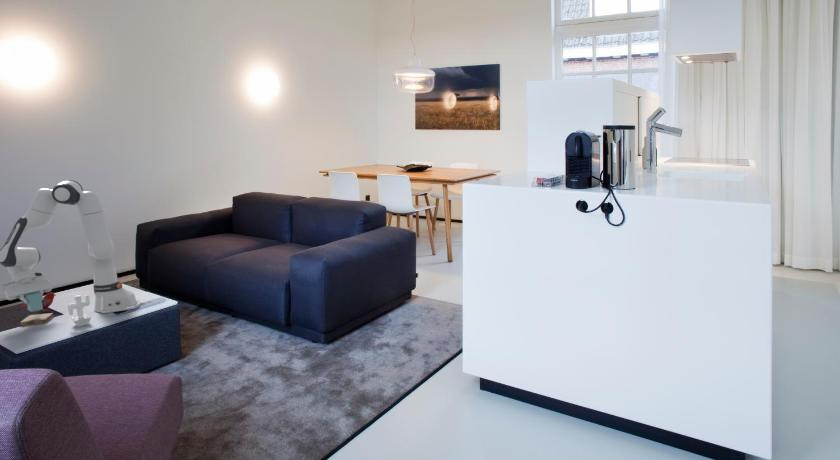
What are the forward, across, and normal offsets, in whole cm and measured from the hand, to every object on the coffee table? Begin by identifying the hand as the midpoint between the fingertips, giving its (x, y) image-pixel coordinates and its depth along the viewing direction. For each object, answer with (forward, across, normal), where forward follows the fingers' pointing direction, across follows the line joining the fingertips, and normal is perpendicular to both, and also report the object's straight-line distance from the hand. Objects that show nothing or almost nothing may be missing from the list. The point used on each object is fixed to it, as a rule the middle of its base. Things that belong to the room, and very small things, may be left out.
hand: (34, 301), depth 285 cm
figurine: (+26, +10, -11) cm, 30 cm away
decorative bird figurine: (-3, +6, +18) cm, 20 cm away
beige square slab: (+7, 0, +8) cm, 11 cm away
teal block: (+3, 0, +4) cm, 5 cm away
